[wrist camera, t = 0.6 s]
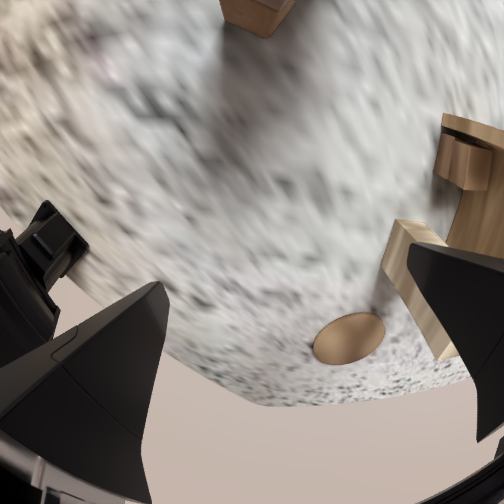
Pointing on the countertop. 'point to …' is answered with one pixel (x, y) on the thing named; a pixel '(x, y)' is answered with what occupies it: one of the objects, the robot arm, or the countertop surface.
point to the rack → (480, 195)
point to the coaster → (349, 338)
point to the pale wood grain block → (407, 288)
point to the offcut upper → (470, 166)
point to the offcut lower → (444, 155)
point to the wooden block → (256, 14)
